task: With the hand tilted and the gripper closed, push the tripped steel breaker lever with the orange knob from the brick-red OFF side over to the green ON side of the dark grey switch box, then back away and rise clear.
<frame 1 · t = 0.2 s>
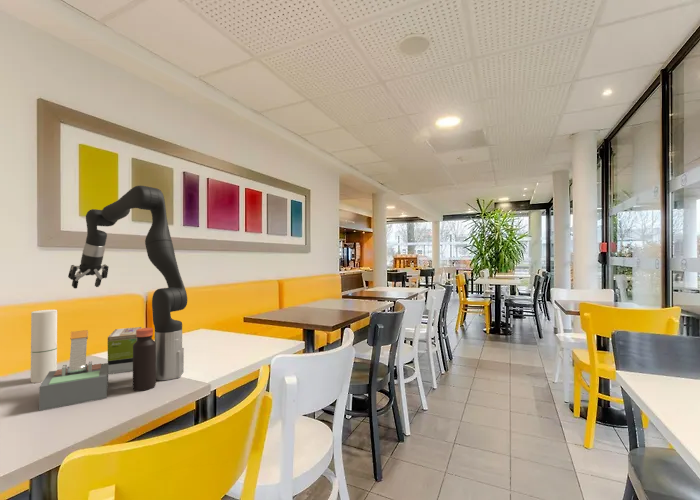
hand: (86, 287, 153), 31 cm above the table, tool tilted 20°, fingers open, 8 cm apart
tea box: (125, 367, 139), on the table
bottle: (144, 388, 117), on the table
switch box: (77, 395, 111), on the table
breaker lever: (78, 351, 113), point 13 cm above the table, hinge at 28.0°
cylindrical container: (43, 379, 126), on the table
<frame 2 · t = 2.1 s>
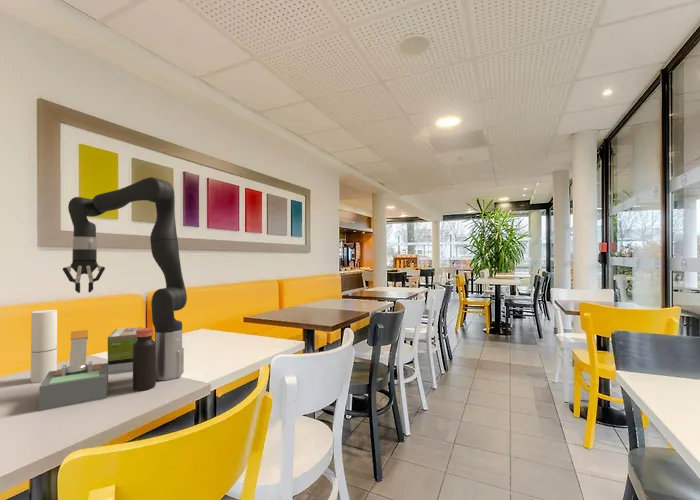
hand: (84, 292, 134), 31 cm above the table, tool pointing down, fingers open, 3 cm apart
nothing on the table moved.
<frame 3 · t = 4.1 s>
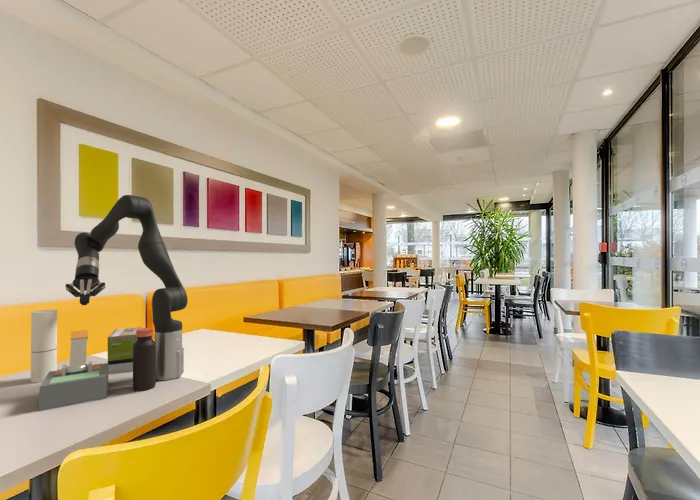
hand: (84, 303, 129), 27 cm above the table, tool tilted 45°, fingers closed
nothing on the table moved.
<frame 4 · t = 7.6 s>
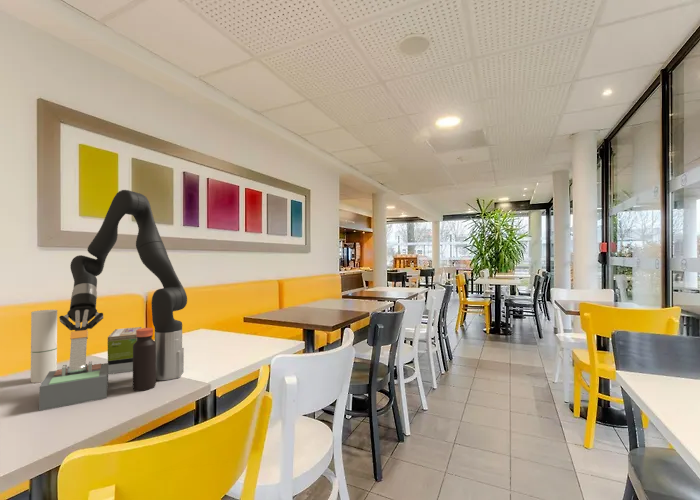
hand: (79, 338, 117), 17 cm above the table, tool tilted 45°, fingers closed
breaker lever: (78, 351, 113), point 13 cm above the table, hinge at 27.0°, touching gripper
everything else where it was.
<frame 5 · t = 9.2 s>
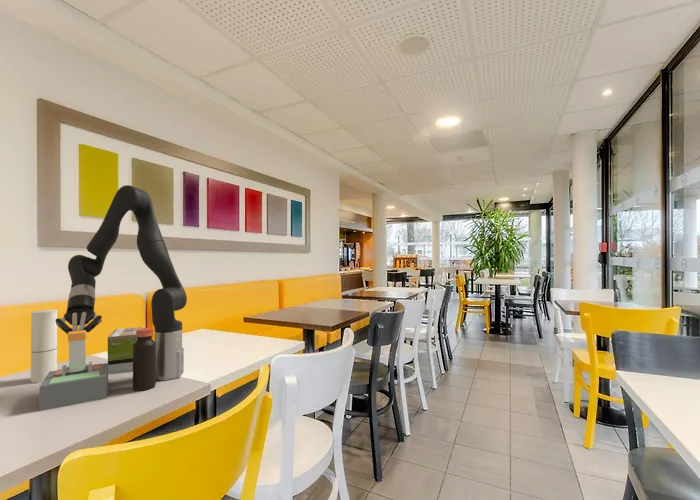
hand: (76, 342, 111), 17 cm above the table, tool tilted 45°, fingers closed
breaker lever: (77, 352, 110), point 14 cm above the table, hinge at -7.6°, touching gripper
everything else where it was.
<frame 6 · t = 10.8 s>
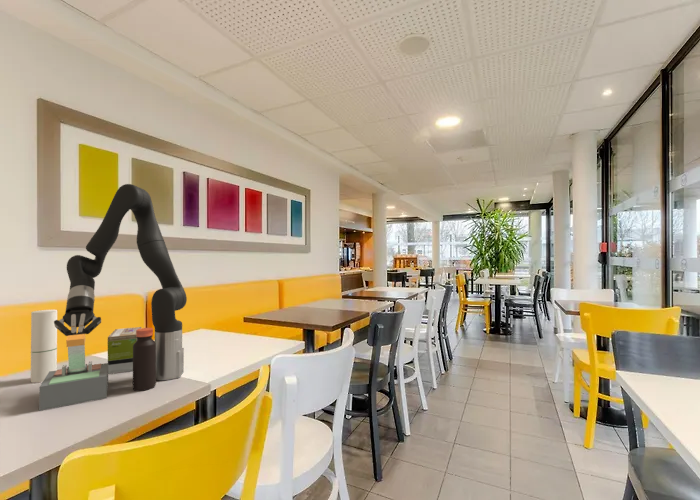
hand: (75, 344, 109), 17 cm above the table, tool tilted 45°, fingers closed
breaker lever: (76, 354, 109), point 14 cm above the table, hinge at -23.7°, touching gripper
everything else where it was.
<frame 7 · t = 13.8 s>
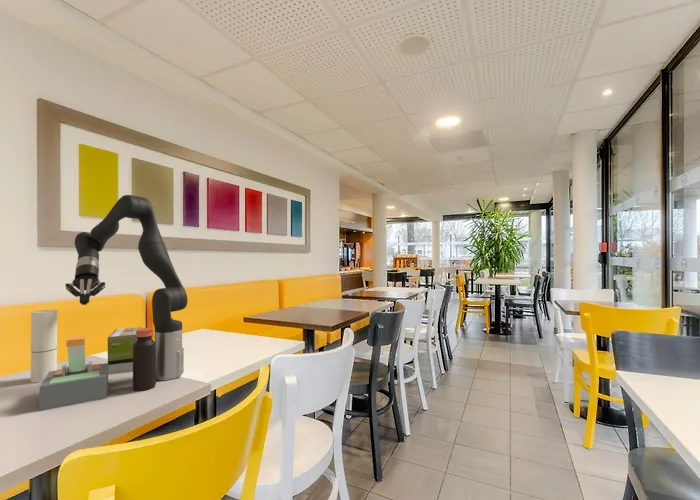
hand: (84, 303, 129), 27 cm above the table, tool tilted 45°, fingers closed
breaker lever: (76, 354, 109), point 14 cm above the table, hinge at -23.7°
everything else where it was.
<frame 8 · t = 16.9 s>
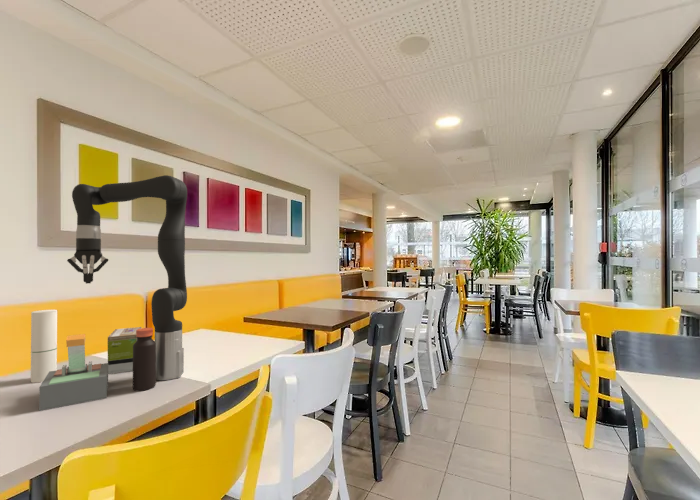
hand: (88, 283, 129), 35 cm above the table, tool pointing down, fingers closed
nothing on the table moved.
at the end: breaker lever at -24° (first picture: +28°) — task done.
